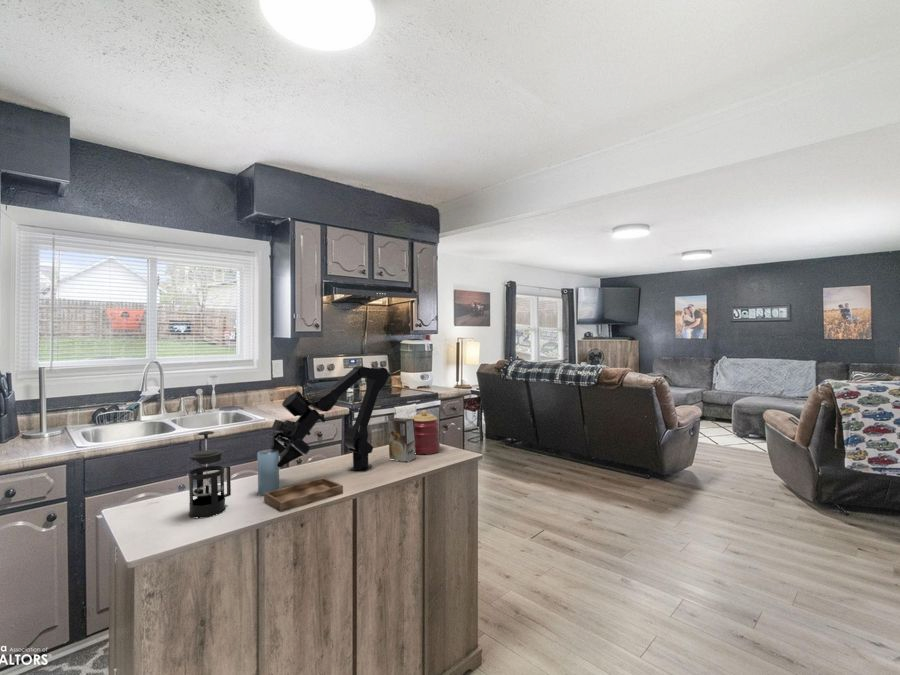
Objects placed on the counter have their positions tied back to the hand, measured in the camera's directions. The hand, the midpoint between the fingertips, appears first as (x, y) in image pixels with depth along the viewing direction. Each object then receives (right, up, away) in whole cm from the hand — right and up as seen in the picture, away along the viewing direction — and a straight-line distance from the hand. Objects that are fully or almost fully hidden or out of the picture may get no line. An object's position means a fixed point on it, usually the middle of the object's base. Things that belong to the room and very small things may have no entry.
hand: (272, 463), depth 145 cm
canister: (+47, -8, +46) cm, 66 cm away
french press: (-12, -9, -16) cm, 22 cm away
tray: (+12, -9, -6) cm, 16 cm away
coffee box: (+39, -8, +34) cm, 52 cm away
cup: (-1, -9, -1) cm, 9 cm away
